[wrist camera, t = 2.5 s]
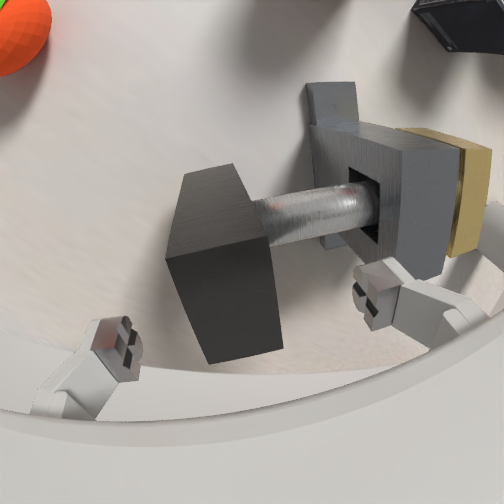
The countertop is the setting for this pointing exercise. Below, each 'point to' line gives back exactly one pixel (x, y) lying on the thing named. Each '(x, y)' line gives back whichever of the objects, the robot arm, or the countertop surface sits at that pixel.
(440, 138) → the spacer
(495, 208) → the can
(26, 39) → the clementine
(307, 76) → the countertop surface
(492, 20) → the small box
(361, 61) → the countertop surface
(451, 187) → the housing
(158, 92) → the countertop surface
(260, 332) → the shaft
